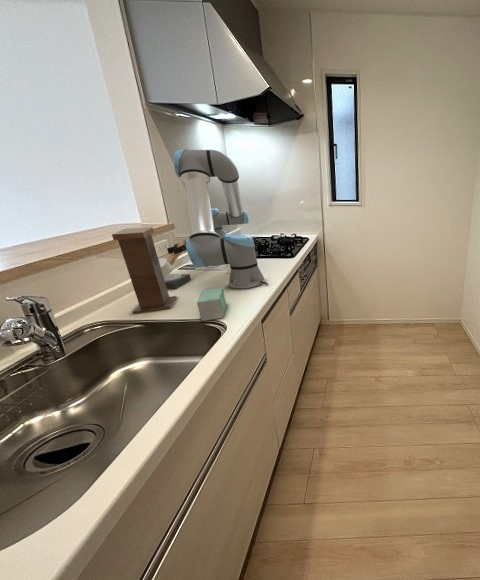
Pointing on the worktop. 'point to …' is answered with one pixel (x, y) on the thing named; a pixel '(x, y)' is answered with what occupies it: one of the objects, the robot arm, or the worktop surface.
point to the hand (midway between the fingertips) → (171, 251)
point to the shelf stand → (144, 269)
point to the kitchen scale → (176, 280)
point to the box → (211, 304)
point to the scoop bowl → (169, 261)
